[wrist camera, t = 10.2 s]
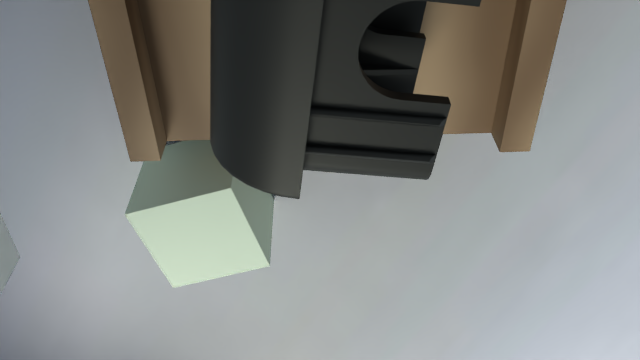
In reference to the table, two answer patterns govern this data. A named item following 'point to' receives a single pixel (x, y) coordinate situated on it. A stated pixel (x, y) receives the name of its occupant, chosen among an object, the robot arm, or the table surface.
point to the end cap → (321, 90)
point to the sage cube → (199, 216)
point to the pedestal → (433, 79)
